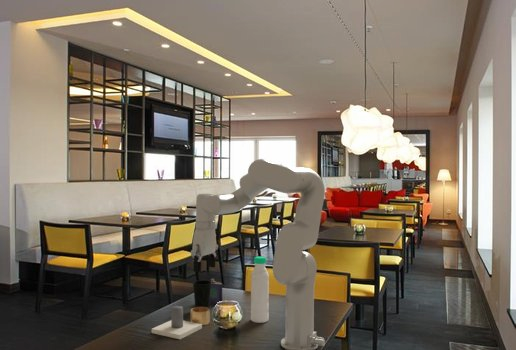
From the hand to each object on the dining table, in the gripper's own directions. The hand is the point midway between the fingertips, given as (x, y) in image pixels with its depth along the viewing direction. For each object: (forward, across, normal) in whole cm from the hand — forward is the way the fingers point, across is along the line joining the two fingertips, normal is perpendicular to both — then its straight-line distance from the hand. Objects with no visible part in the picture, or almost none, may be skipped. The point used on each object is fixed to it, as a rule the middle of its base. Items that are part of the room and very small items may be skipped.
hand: (204, 269), depth 179 cm
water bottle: (+20, -12, +19) cm, 30 cm away
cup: (+21, -11, -8) cm, 25 cm away
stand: (+20, +13, -3) cm, 24 cm away
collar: (+20, +2, 0) cm, 21 cm away
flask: (+21, -23, -11) cm, 33 cm away
